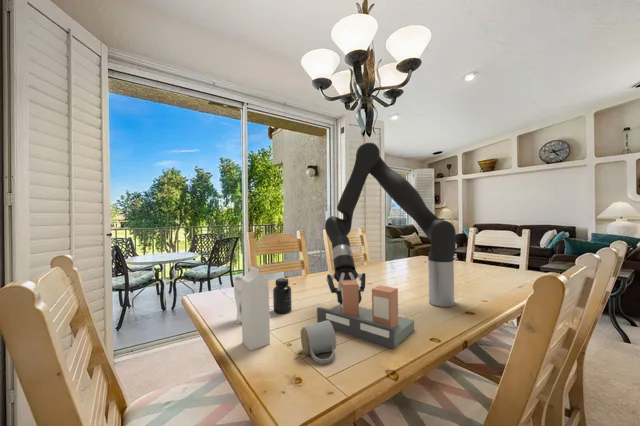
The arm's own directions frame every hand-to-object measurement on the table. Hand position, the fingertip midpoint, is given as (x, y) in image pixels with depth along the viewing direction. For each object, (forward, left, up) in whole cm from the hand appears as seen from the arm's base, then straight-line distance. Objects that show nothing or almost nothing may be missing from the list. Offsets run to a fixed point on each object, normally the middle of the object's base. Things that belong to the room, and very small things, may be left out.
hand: (350, 302), depth 89 cm
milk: (+26, -15, -8) cm, 31 cm away
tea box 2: (-1, +12, -5) cm, 13 cm away
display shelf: (-3, +4, -8) cm, 9 cm away
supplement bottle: (+4, -28, -8) cm, 30 cm away
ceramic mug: (+19, +3, -8) cm, 21 cm away
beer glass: (+18, -32, -8) cm, 38 cm away
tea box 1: (-1, -1, -5) cm, 5 cm away
